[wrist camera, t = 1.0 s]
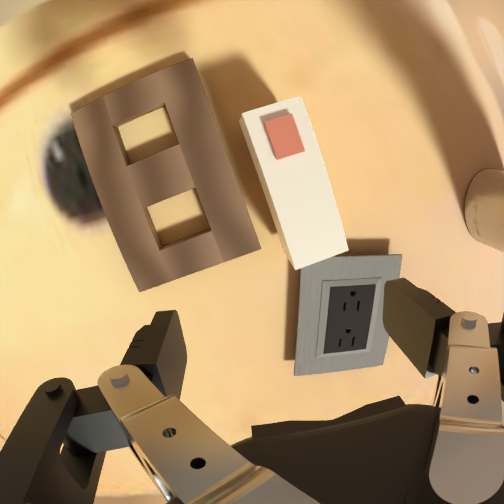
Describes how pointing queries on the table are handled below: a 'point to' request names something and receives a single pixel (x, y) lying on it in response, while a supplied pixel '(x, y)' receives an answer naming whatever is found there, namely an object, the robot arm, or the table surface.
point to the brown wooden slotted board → (165, 177)
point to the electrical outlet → (343, 313)
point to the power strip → (294, 181)
